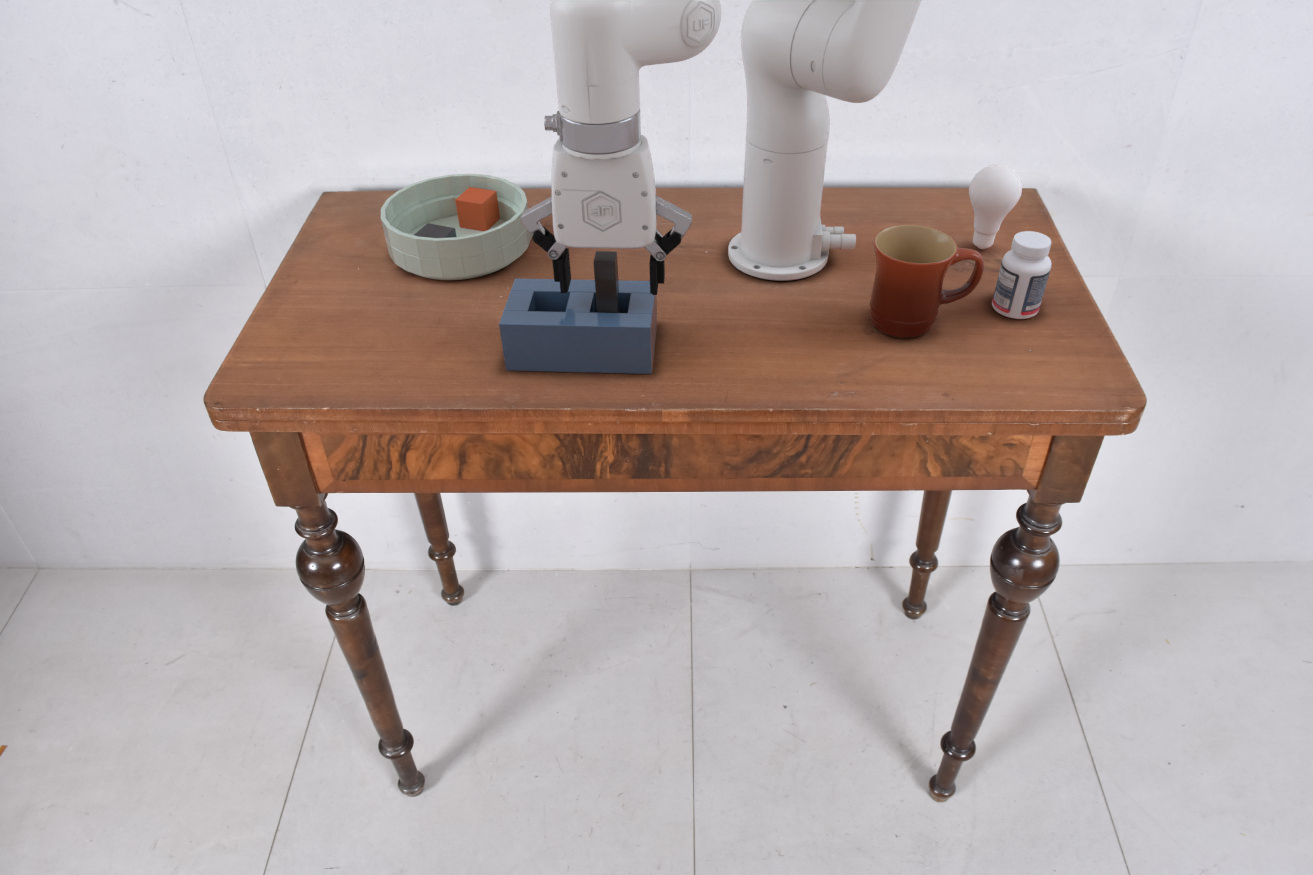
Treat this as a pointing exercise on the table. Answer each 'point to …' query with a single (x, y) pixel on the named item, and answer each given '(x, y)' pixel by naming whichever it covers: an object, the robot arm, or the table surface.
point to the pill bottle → (1023, 276)
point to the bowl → (438, 206)
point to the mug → (915, 278)
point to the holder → (578, 328)
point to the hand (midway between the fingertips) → (610, 287)
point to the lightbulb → (992, 201)
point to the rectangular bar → (606, 282)
